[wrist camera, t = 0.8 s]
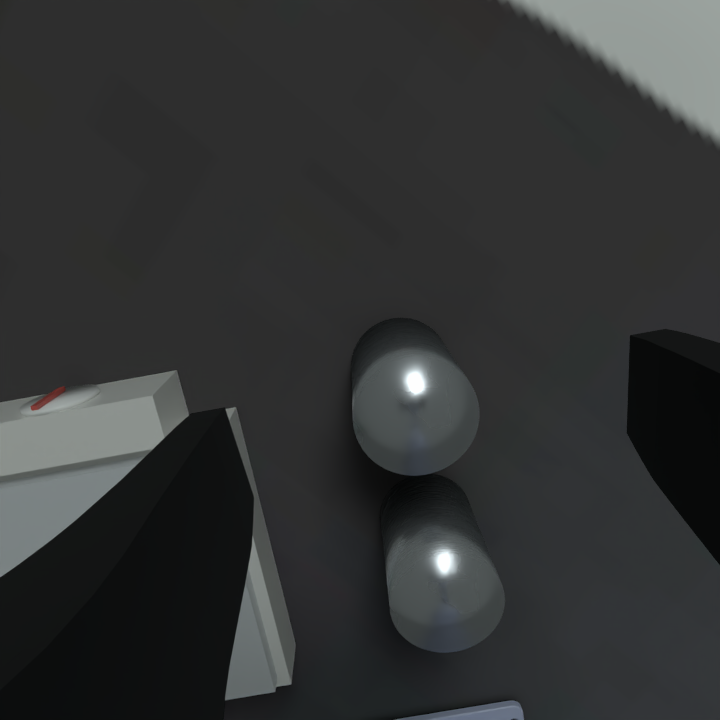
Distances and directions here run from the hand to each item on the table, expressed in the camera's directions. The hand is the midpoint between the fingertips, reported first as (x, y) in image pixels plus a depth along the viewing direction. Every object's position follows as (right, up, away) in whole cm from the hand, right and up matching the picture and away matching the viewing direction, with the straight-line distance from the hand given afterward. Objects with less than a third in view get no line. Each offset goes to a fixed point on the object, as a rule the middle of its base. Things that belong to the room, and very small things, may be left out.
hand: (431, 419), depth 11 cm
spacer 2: (+2, -6, +16) cm, 17 cm away
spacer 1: (0, +1, +14) cm, 14 cm away
